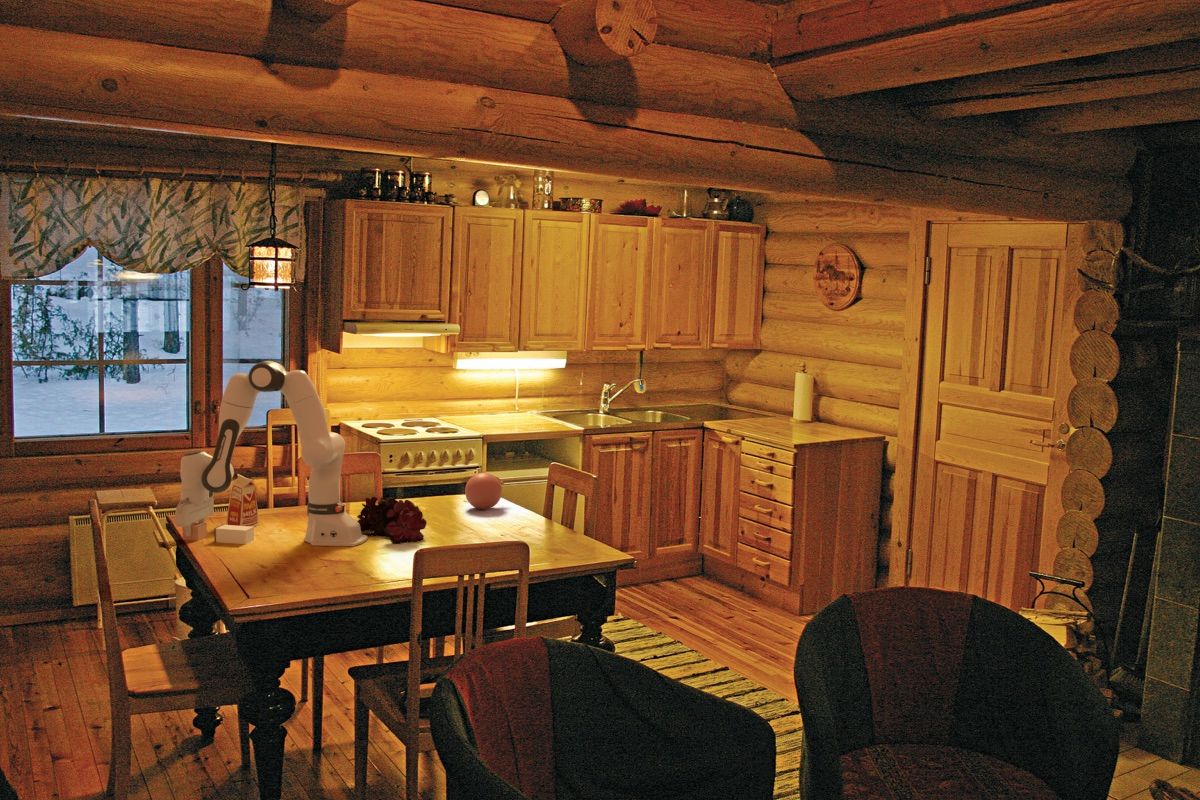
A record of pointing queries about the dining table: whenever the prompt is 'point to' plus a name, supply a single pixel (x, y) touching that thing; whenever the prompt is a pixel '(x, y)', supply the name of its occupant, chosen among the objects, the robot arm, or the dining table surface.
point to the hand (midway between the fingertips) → (194, 533)
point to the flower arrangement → (392, 520)
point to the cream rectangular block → (233, 534)
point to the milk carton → (242, 503)
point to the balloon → (483, 491)
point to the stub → (196, 532)
